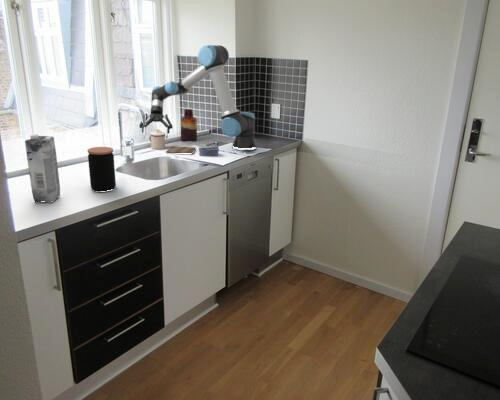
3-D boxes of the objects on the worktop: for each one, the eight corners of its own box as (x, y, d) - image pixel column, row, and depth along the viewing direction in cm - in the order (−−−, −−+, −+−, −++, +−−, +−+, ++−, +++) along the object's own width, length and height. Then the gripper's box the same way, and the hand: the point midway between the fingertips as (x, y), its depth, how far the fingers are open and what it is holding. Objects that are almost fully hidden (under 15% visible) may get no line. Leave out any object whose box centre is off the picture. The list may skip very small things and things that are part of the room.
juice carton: (63, 195, 185) (55, 132, 176) (53, 204, 176) (45, 138, 166) (41, 194, 185) (33, 131, 176) (30, 203, 175) (21, 137, 166)
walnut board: (195, 149, 271) (195, 147, 270) (191, 154, 258) (191, 152, 257) (172, 148, 272) (172, 146, 271) (166, 153, 258) (166, 151, 258)
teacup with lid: (168, 148, 272) (168, 129, 268) (158, 150, 264) (157, 131, 260) (155, 144, 278) (154, 126, 274) (144, 147, 271) (143, 128, 267)
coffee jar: (107, 183, 202) (104, 145, 196) (120, 188, 196) (118, 149, 190) (86, 188, 195) (82, 149, 188) (99, 194, 188) (96, 153, 182)
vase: (191, 137, 302) (191, 108, 295) (199, 140, 294) (199, 110, 287) (177, 139, 295) (177, 109, 288) (186, 142, 288) (185, 111, 281)
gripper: (177, 112, 282) (176, 140, 274) (137, 111, 280) (135, 140, 271) (176, 105, 276) (175, 134, 267) (136, 104, 273) (133, 133, 264)
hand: (155, 137), depth 269 cm, fingers open, 13 cm apart
